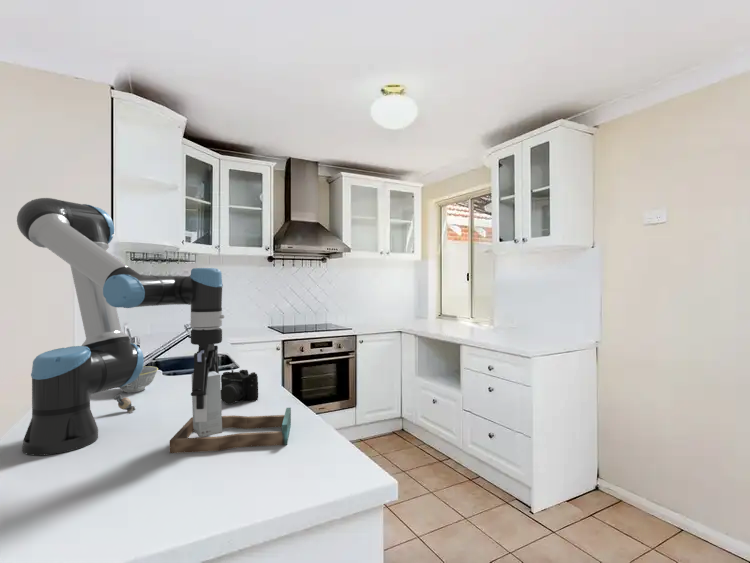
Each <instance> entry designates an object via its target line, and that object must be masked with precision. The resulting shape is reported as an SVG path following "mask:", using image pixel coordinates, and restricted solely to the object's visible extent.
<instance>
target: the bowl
mask: <svg viewBox="0 0 750 563" xmlns="http://www.w3.org/2000/svg"><path fill="white" fill-rule="evenodd" d="M158 370H159V368H158V367H157V366H151V365H150V366H148V365H147V366H146V365H143V369H142V371H141V373H140V375H139V377H138V378H137V379H136V380H135V381H133V382H131V383H129V384H126V385H124V386H122V387H119V389H121V390H122V392H124V393H137V392H142V391H144V390H145V389H146V387H148V386H150V384H152V382H153V381H154V379H155V377H156V374H157V372H158Z"/></svg>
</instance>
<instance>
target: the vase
mask: <svg viewBox="0 0 750 563" xmlns="http://www.w3.org/2000/svg"><path fill="white" fill-rule="evenodd" d="M112 400H114V401H117V405H118V406H117V407H118V408H120V410H125V411H126V410H127V414H133V411H135V410H136V406H135V405H132V401H131V399H130V398H129V397H123V396H122V394H121V393H118V394H116V396H114V397H113V398H112Z"/></svg>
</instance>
